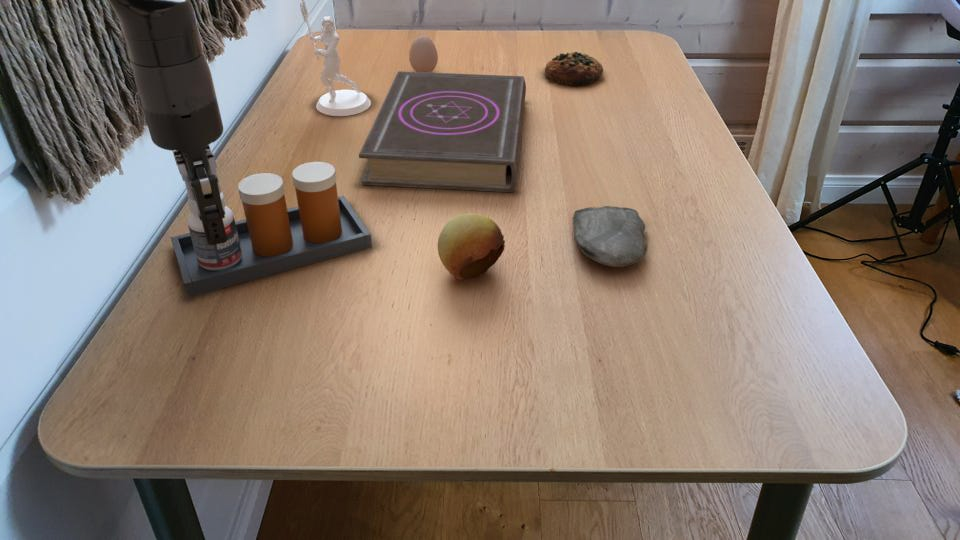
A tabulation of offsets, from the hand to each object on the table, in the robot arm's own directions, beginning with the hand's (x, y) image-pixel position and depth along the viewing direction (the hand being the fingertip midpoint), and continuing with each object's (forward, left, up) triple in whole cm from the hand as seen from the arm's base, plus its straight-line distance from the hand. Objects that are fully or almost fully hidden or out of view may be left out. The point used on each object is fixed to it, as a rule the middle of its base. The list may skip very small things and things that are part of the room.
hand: (212, 229), depth 88 cm
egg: (+47, +44, -5) cm, 64 cm away
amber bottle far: (+13, 0, -4) cm, 14 cm away
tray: (+7, 0, -5) cm, 8 cm away
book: (+40, +17, -5) cm, 43 cm away
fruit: (+27, -16, -5) cm, 31 cm away
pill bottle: (0, 0, -5) cm, 5 cm away
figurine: (+29, +38, -5) cm, 48 cm away
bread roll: (+72, +31, -5) cm, 78 cm away
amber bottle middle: (+7, 0, -4) cm, 8 cm away
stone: (+46, -18, -5) cm, 49 cm away
